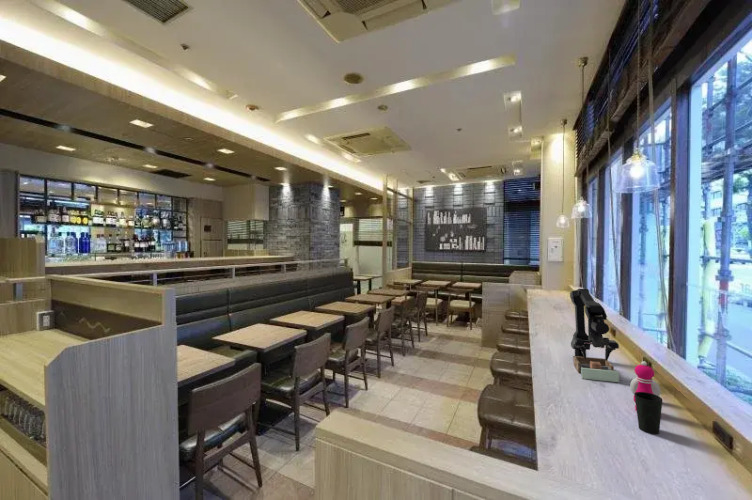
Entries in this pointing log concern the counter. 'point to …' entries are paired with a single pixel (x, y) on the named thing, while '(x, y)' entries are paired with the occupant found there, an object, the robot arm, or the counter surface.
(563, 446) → the counter surface
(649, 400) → the cup
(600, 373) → the tray
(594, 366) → the block
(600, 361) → the sleeve
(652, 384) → the donut
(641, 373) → the pepper mill
